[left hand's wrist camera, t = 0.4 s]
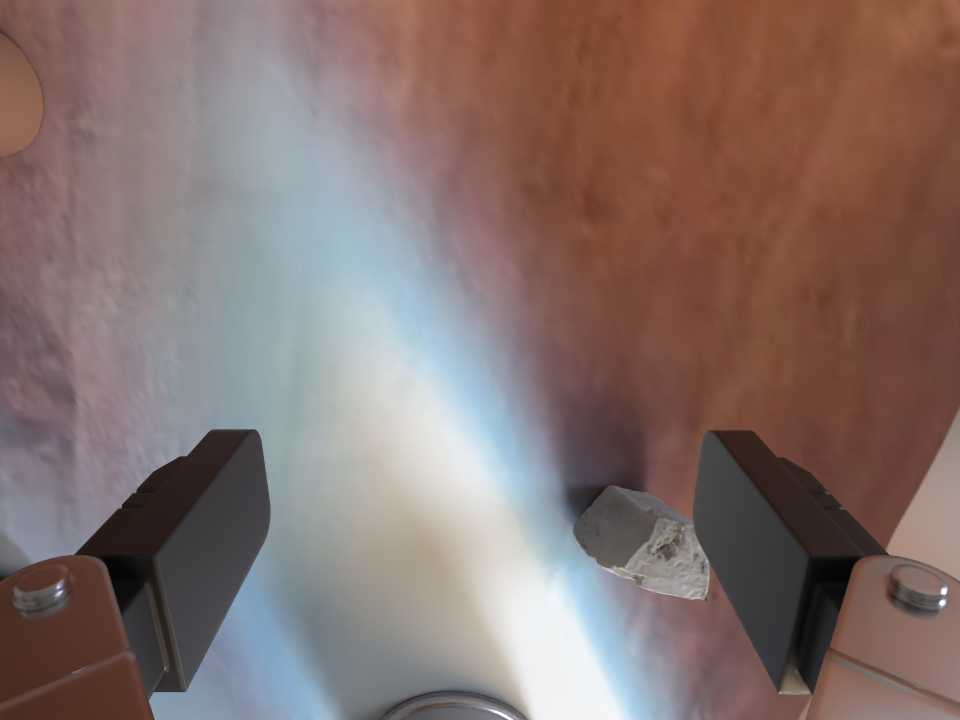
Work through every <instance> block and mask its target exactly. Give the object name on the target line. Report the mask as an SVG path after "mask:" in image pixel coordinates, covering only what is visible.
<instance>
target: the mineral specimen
mask: <svg viewBox="0 0 960 720" xmlns="http://www.w3.org/2000/svg"><path fill="white" fill-rule="evenodd" d="M573 534H574V535H575V537H576V539H577V541H578V543H579V544H580V546H581V547H582V548H583V550H584V551H585V552H586V553H587V554H588V555H589V556H590V557H591V558H593V559H595V560H596V561H597V563H598V564H599V565H600V566H601V567H602V568H604V569H605V570H607V571H608V572H611V573H614V574H616V575H619V576H620V577H622V578H629V579H632V580H636V583H637V585H638V586H640V587H642V588H644V589H647V590H651V591H653V592H657V593H663V594H668V595H674V596H679V597H683V598H688V599H692V600H693V599H695V598H699V599H703V600H705V601H706V599H707V598H706V593H707V590H708V584H709V561H708V559H707V557H706V555H705V553H704V552H703V550H702V548H701V546H700V544H699V542H698V540H697V537H696V534H695V530H694V524H693V521H692V520H690V519H688V518H687V517H686V516H684V515H682V514H680V513H679V512H678V511H676V510H675V509H673V508H671V507H669V506H668V505H666V504H665V503H663V502H662V501H661V500H659V499H657V498H656V497H654V496H653V495H652V494H649V493H646V492H639V491H633V490H630V489H624V488H620V487H618V486H612V485H610V486H607V488H606V489H605V490H604V491H603V492H602V493H601V495H599V496H598V497H597V499H596V500H594V502H593V504H592V506H590V507H588V508H587V510H586V511H585V512H584V513H583V514H582V515H581V516H580V518H579V520H578V522H577V523H576V524H575V525H574V530H573Z"/></svg>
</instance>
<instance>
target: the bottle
mask: <svg viewBox="0 0 960 720" xmlns="http://www.w3.org/2000/svg"><path fill="white" fill-rule="evenodd" d="M43 111H44V103H43V95H42V89H41V86H40V82H39V80H38V77H37V75H36V73H35V71H34V69H33V67H32V65H31V63H30V62H29V60H28V59H27V57H26V56H25V55H24V54H23V52H22V51H21V50H20V49H19V48H18V47H17V46H16V45H15V44H14V43H13V42H12V41H11V40H10V39H9V38H7V37H6V36H5V35H4V34H2V33H1V32H0V157H5V156H10V155H13V154H15V153H18V152H19V151H21V150H23V149H24V148H25V147H27V146H28V145H29V144H30V143H31V142H32V140H33V139H34V138H35V136H36V135H37V133H38V131H39V129H40V126H41V123H42V119H43Z"/></svg>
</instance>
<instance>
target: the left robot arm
mask: <svg viewBox="0 0 960 720" xmlns="http://www.w3.org/2000/svg"><path fill="white" fill-rule="evenodd" d="M269 524H270V499H269V492H268V485H267V477H266V470H265V463H264V456H263V448H262V442H261V438H260V435H259V433H258V432H257V431H256V430H254V429H214V430H211V431H210V432H208V433H207V435H206V436H205V437H204V438H203V439H202V440H201V441H200V442H199V444H198V445H197V446H196V447H195V448H194V449H193V450H192V451H191V452H190V454H189V455H188V456H180V457H178V458H176V459H175V460H173V461H171V462H170V463H168V464H166V465H164V466H163V467H161V468H159V469H157V470H156V471H154V472H153V473H152V474H151V475H150V476H149V477H148V478H147V479H146V480H145V481H144V482H143V483H142V484H141V485H140V486H139V488H138V489H137V492H136V493H133V494H132V495H131V496H130V497H129V498H128V499H127V500H126V501H125V502H124V503H123V504H122V509H118V510H117V511H116V512H115V513H114V514H113V515H112V516H111V517H110V518H109V519H108V520H107V521H106V522H105V523H104V524H103V525H102V526H101V527H100V528H99V529H98V531H97V532H96V533H95V534H94V535H93V536H92V537H91V538H90V539H89V540H88V541H87V542H86V543H85V544H84V545H83V546H82V547H81V548H80V549H79V550H78V551H77V553H76V554H75V555H69V556H61V557H56V558H51V559H48V560H44V561H41V562H38V563H35V564H33V565H30V566H28V567H25V568H23V569H21V570H19V571H17V572H15V573H13V574H11V575H10V576H8V577H6V578H5V579H3V580H2V581H0V720H154V717H153V713H152V710H151V707H150V703H149V699H150V697H151V695H152V694H153V692H186V691H187V689H188V687H189V685H190V683H191V681H192V679H193V677H194V675H195V673H196V671H197V670H198V668H199V666H200V664H201V662H202V660H203V658H204V656H205V654H206V652H207V650H208V649H209V647H210V645H211V643H212V641H213V639H214V637H215V635H216V633H217V631H218V629H219V627H220V626H221V624H222V622H223V620H224V618H225V616H226V614H227V612H228V610H229V608H230V606H231V605H232V603H233V601H234V599H235V597H236V595H237V593H238V591H239V589H240V587H241V585H242V584H243V582H244V580H245V578H246V576H247V574H248V572H249V570H250V568H251V566H252V564H253V562H254V561H255V559H256V557H257V555H258V553H259V551H260V549H261V547H262V545H263V543H264V541H265V539H266V537H267V534H268V530H269ZM693 524H694V530H695V534H696V537H697V540H698V542H699V544H700V546H701V548H702V550H703V552H704V553H705V555H706V557H707V559H708V561H709V563H710V565H711V567H712V569H713V570H714V572H715V574H716V576H717V578H718V580H719V582H720V584H721V586H722V587H723V589H724V591H725V593H726V595H727V597H728V599H729V601H730V603H731V604H732V606H733V608H734V610H735V612H736V614H737V616H738V618H739V620H740V621H741V623H742V625H743V627H744V629H745V631H746V633H747V635H748V637H749V638H750V640H751V642H752V644H753V646H754V648H755V650H756V652H757V654H758V655H759V657H760V659H761V661H762V663H763V665H764V667H765V669H766V671H767V672H768V674H769V676H770V678H771V680H772V682H773V684H774V686H775V688H776V689H777V691H778V693H779V694H812V696H813V697H812V700H811V703H810V707H809V710H808V713H807V717H806V720H960V581H958V580H957V579H955V578H954V577H952V576H950V575H949V574H947V573H945V572H943V571H941V570H939V569H937V568H935V567H932V566H930V565H927V564H925V563H922V562H919V561H916V560H912V559H909V558H904V557H899V556H891V555H889V554H888V553H887V552H886V551H885V550H884V549H883V548H882V547H881V546H880V545H879V544H878V543H877V541H876V540H875V539H874V538H873V537H872V536H871V535H870V534H869V533H868V532H867V531H866V530H865V529H864V528H863V527H862V526H861V525H860V524H859V523H858V522H857V521H856V520H855V519H854V518H853V517H852V515H851V514H850V513H849V512H848V511H847V510H843V509H842V505H841V504H840V503H839V502H838V501H837V500H836V499H835V498H834V497H833V496H832V495H828V491H827V490H826V488H825V487H824V486H823V485H822V484H821V483H820V482H819V481H818V480H817V479H816V478H815V477H814V476H813V475H812V474H811V473H810V472H808V471H806V470H805V469H803V468H801V467H799V466H798V465H796V464H794V463H792V462H791V461H789V460H787V459H786V458H777V457H776V456H775V455H774V454H773V452H772V451H771V450H770V449H769V448H768V447H767V446H766V445H765V444H764V442H763V441H762V440H761V439H760V438H759V437H758V436H757V435H756V434H755V433H754V432H753V431H750V430H709V431H707V432H706V433H705V435H704V437H703V440H702V445H701V452H700V459H699V466H698V473H697V480H696V488H695V495H694V502H693Z"/></svg>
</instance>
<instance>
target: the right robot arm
mask: <svg viewBox="0 0 960 720" xmlns="http://www.w3.org/2000/svg"><path fill="white" fill-rule="evenodd" d="M381 720H526V719H525V718H524V717H523V716H522V715H521V714H520V713H519V712H517V711H516V710H514V709H513V708H511V707H510V706H508V705H506V704H504V703H502V702H500V701H498V700H495V699H493V698H490V697H487V696H483V695H479V694H474V693H467V692H440V693H433V694H428V695H424V696H420V697H417V698H414V699H411V700H409V701H407V702H405V703H403V704H401V705H399V706H397V707H396V708H394V709H393V710H391V711H390V712H389V713H388V714H386V715H385V716H384V717H383V718H382V719H381Z"/></svg>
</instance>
